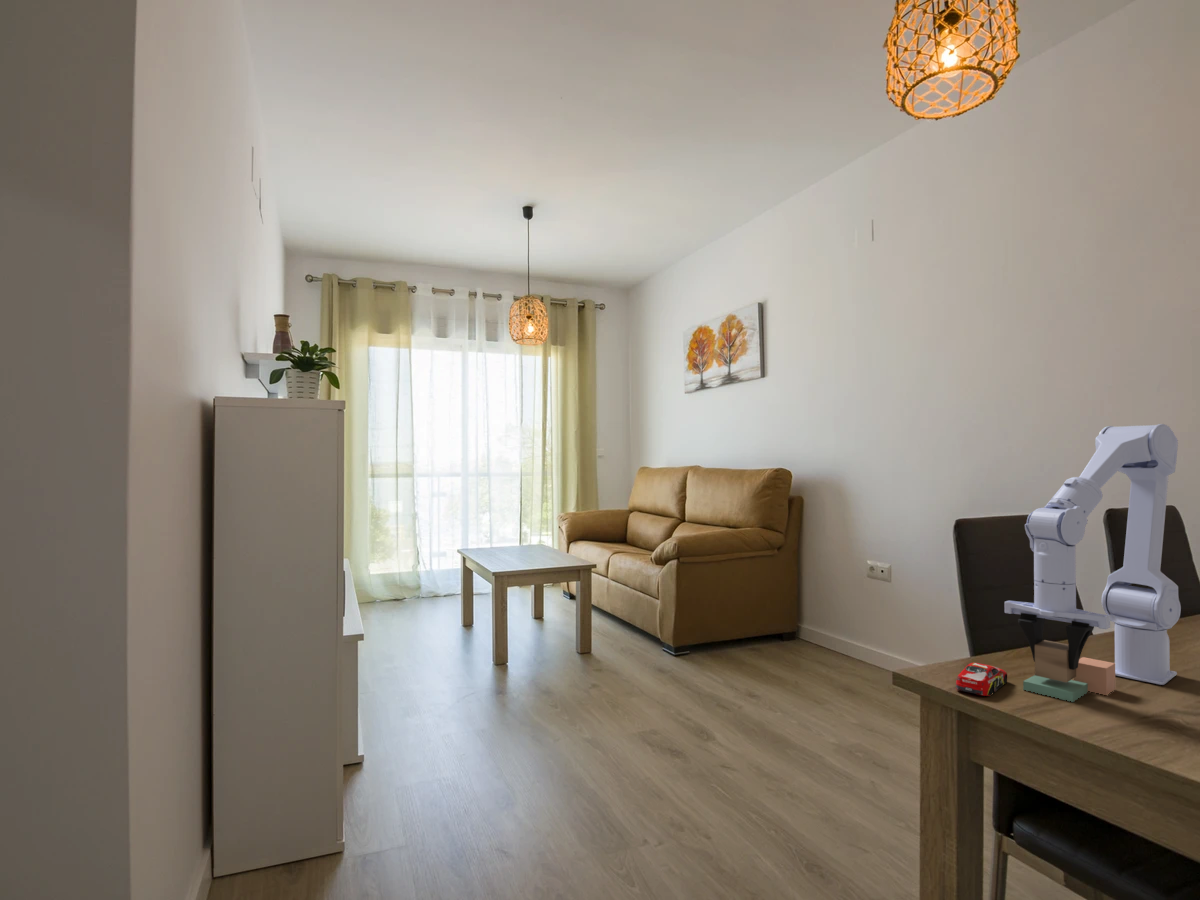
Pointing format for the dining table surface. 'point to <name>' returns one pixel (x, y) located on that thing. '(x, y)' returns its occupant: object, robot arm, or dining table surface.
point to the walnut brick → (1053, 661)
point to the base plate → (1056, 688)
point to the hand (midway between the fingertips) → (1055, 664)
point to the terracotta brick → (1096, 675)
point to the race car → (981, 679)
